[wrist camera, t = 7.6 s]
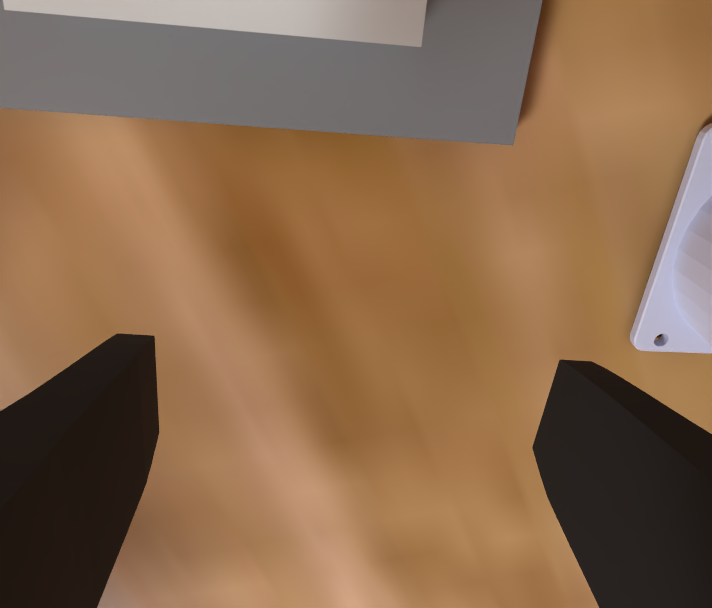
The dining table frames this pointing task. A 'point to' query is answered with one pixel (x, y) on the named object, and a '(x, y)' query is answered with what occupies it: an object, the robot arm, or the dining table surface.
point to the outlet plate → (277, 63)
